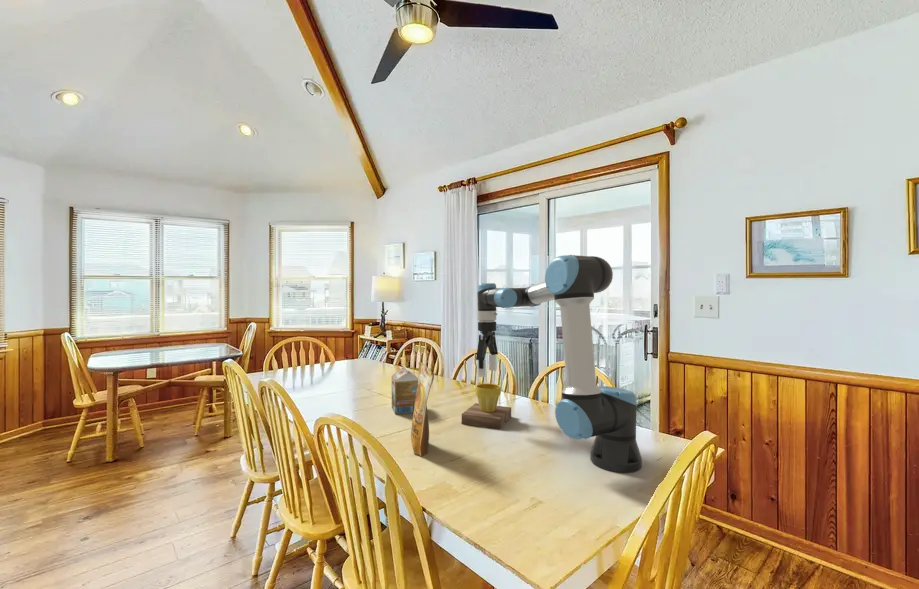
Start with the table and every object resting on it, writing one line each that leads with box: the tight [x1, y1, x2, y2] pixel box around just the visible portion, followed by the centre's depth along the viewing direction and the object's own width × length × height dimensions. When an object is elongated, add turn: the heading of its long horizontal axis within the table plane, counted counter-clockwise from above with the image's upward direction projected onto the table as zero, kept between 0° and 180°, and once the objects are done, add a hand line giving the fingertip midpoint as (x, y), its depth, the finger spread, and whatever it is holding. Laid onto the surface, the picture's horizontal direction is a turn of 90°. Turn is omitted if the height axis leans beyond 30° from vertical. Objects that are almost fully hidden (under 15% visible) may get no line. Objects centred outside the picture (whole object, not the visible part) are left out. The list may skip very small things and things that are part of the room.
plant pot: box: [475, 382, 502, 412], centre depth 173 cm, size 10×10×10 cm
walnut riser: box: [461, 402, 512, 430], centre depth 172 cm, size 16×16×4 cm
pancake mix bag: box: [410, 361, 435, 457], centre depth 144 cm, size 7×19×28 cm, turn 11°
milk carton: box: [391, 364, 419, 415], centre depth 186 cm, size 10×11×19 cm
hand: (487, 373), depth 171 cm, fingers open, 13 cm apart
